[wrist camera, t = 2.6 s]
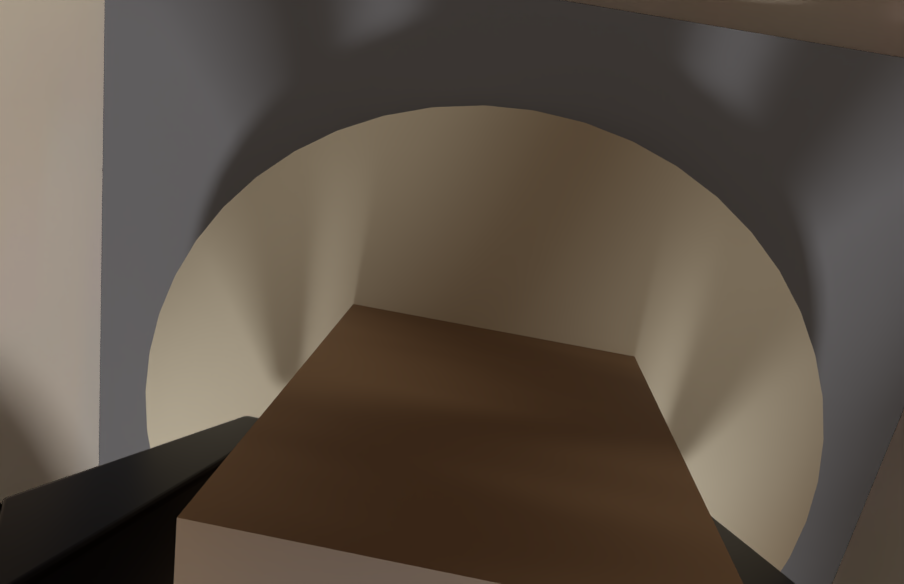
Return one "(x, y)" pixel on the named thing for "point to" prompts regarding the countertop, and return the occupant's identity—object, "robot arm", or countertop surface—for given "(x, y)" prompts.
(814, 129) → the rubber mat
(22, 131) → the countertop surface
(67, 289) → the countertop surface
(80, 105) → the countertop surface
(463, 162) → the wooden lid
